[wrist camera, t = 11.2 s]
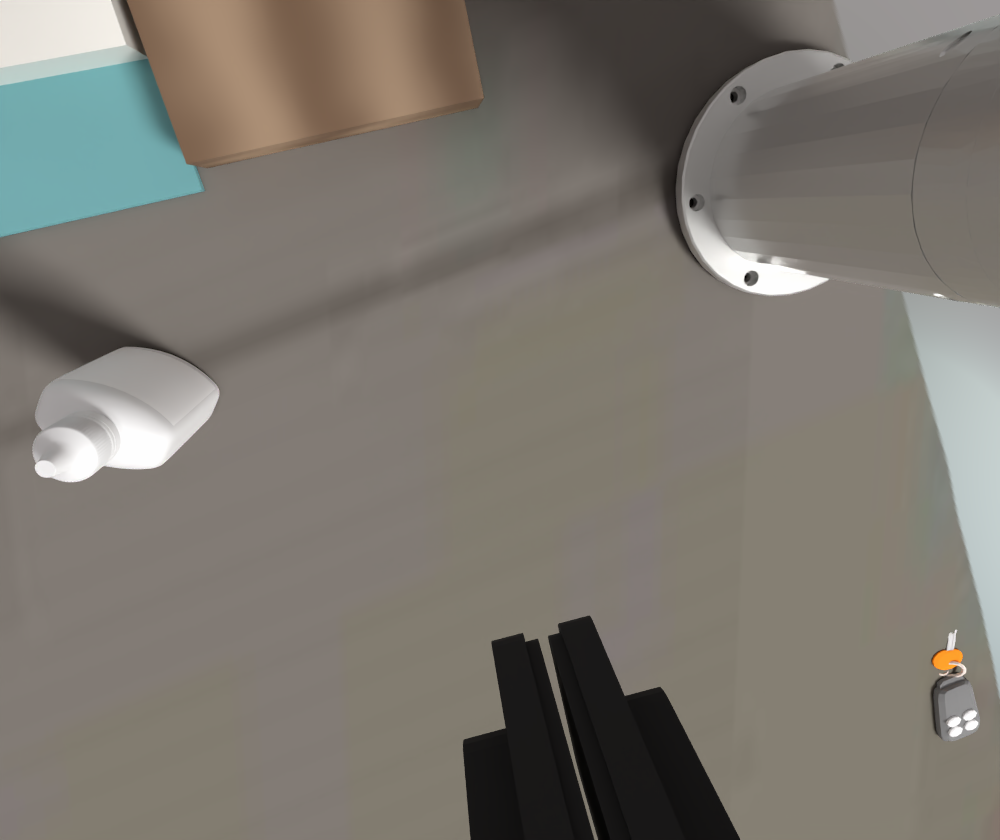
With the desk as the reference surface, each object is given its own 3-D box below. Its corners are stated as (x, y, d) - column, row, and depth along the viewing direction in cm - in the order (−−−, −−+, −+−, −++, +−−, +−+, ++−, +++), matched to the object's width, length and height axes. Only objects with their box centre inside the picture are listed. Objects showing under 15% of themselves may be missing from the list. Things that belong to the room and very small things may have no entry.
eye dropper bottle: (162, 318, 33) (30, 376, 22) (233, 400, 35) (147, 492, 24) (98, 363, 33) (-65, 443, 22) (172, 442, 35) (58, 553, 24)
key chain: (973, 717, 52) (989, 731, 50) (932, 733, 52) (946, 748, 51) (956, 599, 47) (972, 611, 46) (911, 618, 47) (926, 630, 46)
